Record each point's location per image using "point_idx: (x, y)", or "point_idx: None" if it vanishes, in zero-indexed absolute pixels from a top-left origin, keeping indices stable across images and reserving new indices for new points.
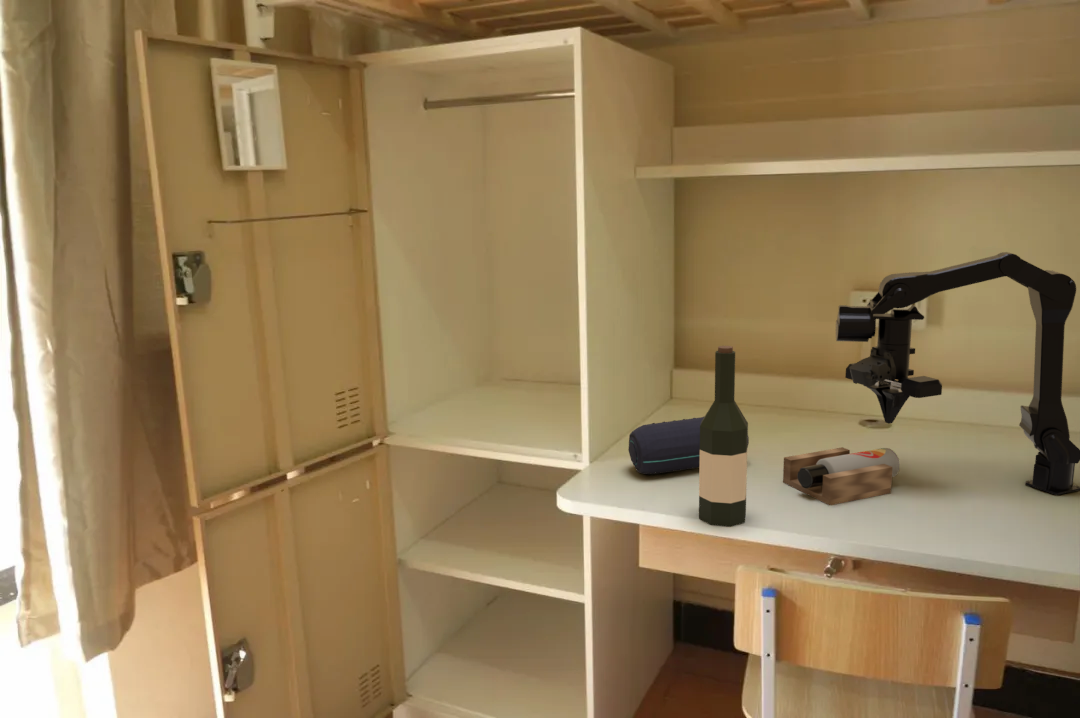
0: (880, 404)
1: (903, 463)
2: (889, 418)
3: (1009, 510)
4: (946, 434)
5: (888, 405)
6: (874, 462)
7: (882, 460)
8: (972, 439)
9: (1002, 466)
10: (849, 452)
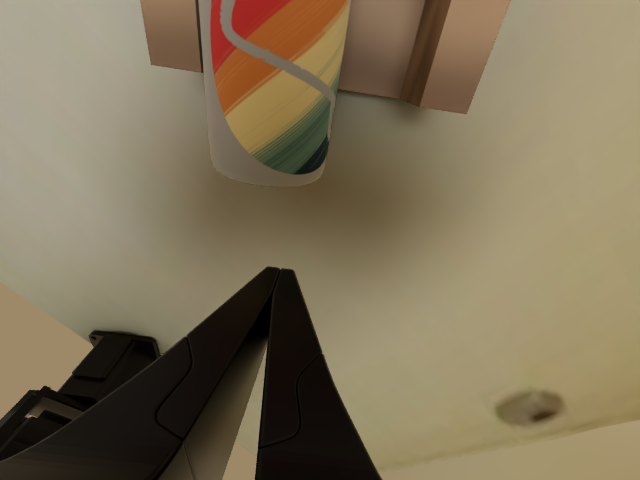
0: (313, 360)
1: (353, 285)
2: (248, 285)
3: (26, 217)
4: (398, 427)
5: (197, 360)
6: (201, 9)
7: (206, 73)
8: (357, 429)
9: None
10: (416, 104)
